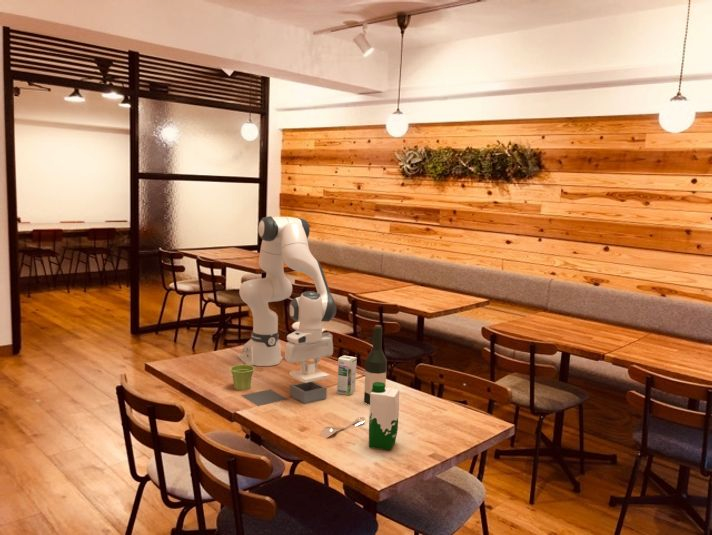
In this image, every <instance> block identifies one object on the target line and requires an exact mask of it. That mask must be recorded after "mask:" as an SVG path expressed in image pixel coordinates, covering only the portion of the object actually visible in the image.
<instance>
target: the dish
mask: <svg viewBox="0 0 712 535" xmlns="http://www.w3.org/2000/svg"><path fill="white" fill-rule="evenodd" d="M289 386H290V387H289V390H290V391H289V396H290V397H291V398H293V399H294V400H297V401H298V402H300V403H301V404H303V405H306V404H310V403H316V402H319V401H323V400H327V389H328V388H327V387H326V386H323V385H321V384H320V383H318V382H316V381H312V382H307V383H305V382H303V381H302V382H297V383H294V384H290V385H289Z"/></svg>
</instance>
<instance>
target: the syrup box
mask: <svg viewBox="0 0 712 535" xmlns="http://www.w3.org/2000/svg"><path fill="white" fill-rule="evenodd" d="M357 359H358V357H356V356H349V355H345V354H344V355H342V356H340V357H338V360H337V382H336V383H337V384H336V385H337V386H336V394H339V395H340V394H341V395H346V396H351V395H352V394H354V393H355V392H356V381H357V380H356V376H357Z"/></svg>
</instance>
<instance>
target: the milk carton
mask: <svg viewBox="0 0 712 535" xmlns="http://www.w3.org/2000/svg"><path fill="white" fill-rule="evenodd" d="M399 410H400V389H397V388H392V387H389V386H387V387H385V384H384V383H381V382H375V383H373V387H372V391H371V393H370V405H369V416H368V417H369V418H368V447H369V448H370V449H371V448H372V449H377V450H382V451H383V450H384V451H392V449H393V447H394V444H395V443H396V440H397V435H398V430H399V426H398V425H399V415H400V413H399V412H400V411H399Z"/></svg>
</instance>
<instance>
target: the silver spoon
mask: <svg viewBox="0 0 712 535" xmlns="http://www.w3.org/2000/svg"><path fill="white" fill-rule="evenodd" d="M359 420H360V421H359ZM365 421H366V418H365V417H364V416H360V417H358V418H356V419H354V421H352V422H351V424H349V425H348V426H346V427H337V426H325V427H324V428H322V430H321V433H320V436H321V437H322V438H324V439H328V438H329V437H330V436H333V434H335V433H336V432H337V431H338V430H348V429H351V428H352V429H353V428H357V427H359V426H361V425H362V424H364V423H365Z"/></svg>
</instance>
